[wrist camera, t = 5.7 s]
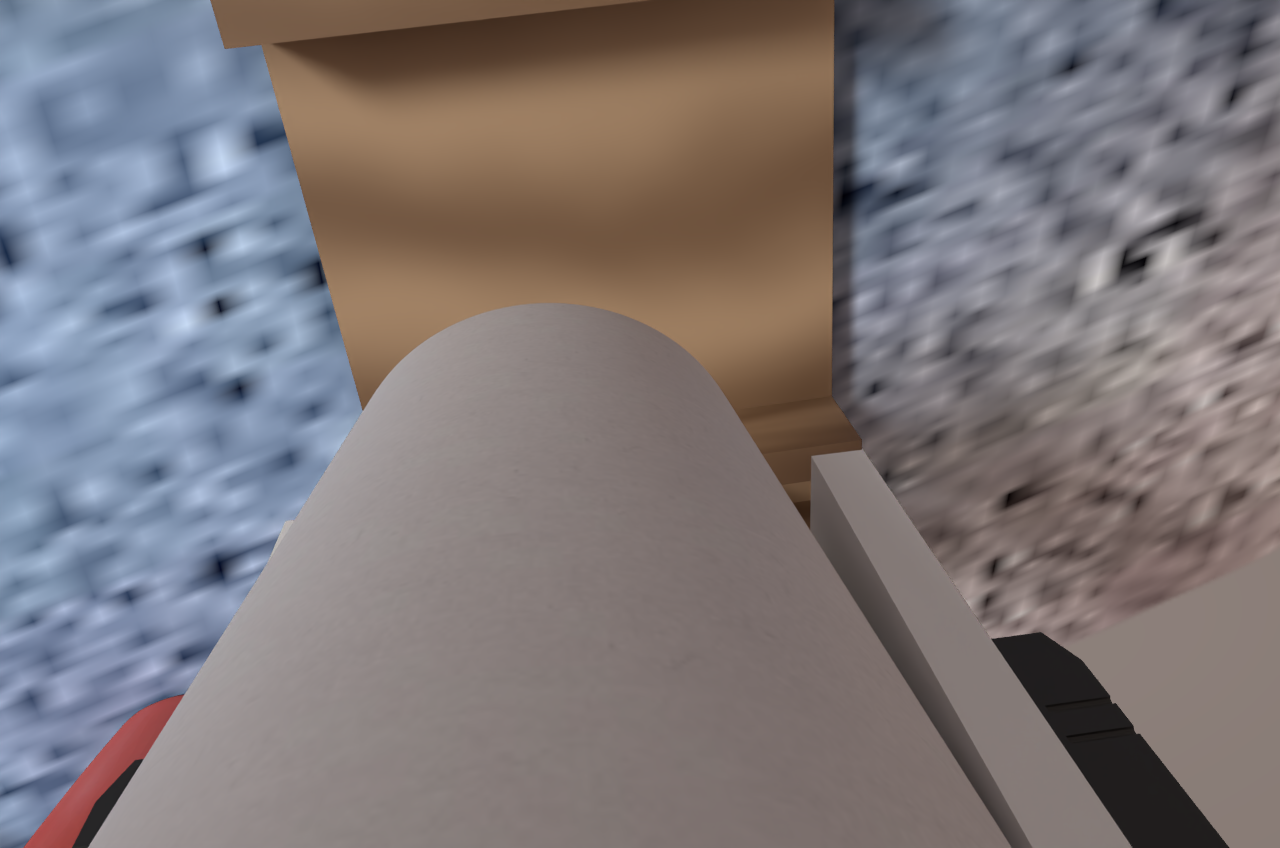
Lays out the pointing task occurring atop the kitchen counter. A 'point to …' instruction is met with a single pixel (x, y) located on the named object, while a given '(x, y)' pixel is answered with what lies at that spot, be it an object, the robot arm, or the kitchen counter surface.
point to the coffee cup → (549, 633)
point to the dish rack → (575, 179)
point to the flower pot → (103, 775)
